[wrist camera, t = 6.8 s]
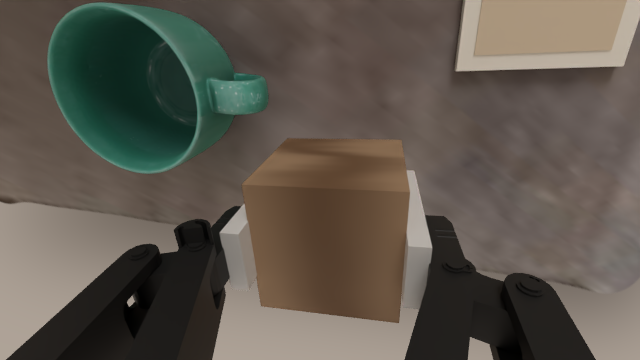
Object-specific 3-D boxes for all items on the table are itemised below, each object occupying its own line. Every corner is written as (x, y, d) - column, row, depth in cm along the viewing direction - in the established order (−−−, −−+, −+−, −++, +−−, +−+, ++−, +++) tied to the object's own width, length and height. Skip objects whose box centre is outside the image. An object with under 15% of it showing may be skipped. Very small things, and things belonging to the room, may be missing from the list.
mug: (145, 132, 35) (68, 162, 26) (126, 6, 29) (22, -8, 21) (286, 155, 33) (252, 195, 24) (293, 23, 27) (252, 15, 19)
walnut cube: (295, 231, 19) (261, 306, 14) (287, 138, 17) (241, 184, 11) (394, 238, 18) (399, 323, 13) (401, 139, 16) (410, 192, 10)
